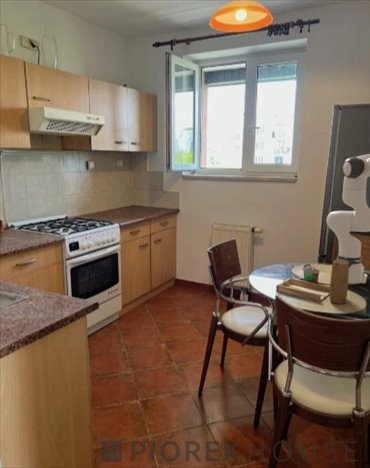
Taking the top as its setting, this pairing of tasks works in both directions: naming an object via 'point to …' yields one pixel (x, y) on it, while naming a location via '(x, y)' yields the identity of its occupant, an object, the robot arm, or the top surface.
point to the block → (339, 281)
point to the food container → (310, 274)
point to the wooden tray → (304, 289)
